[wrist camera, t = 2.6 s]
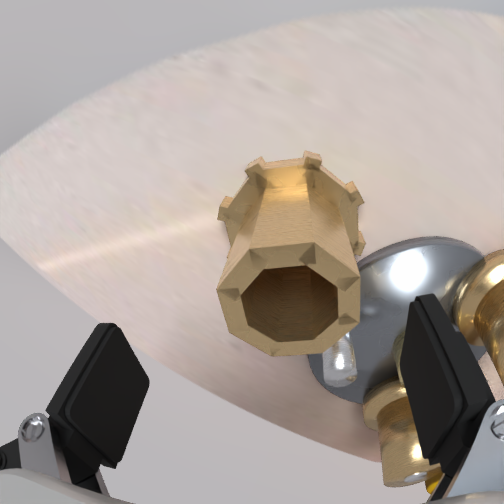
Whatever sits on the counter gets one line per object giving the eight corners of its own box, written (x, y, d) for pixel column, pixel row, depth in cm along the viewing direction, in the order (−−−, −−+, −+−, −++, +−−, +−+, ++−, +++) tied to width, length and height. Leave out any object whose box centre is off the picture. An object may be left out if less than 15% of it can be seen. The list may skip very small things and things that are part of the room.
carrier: (531, 225, 16) (608, 301, 7) (475, 389, 24) (499, 462, 16) (297, 249, 19) (295, 373, 11) (314, 416, 27) (311, 502, 19)
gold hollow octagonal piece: (354, 145, 16) (401, 191, 9) (361, 270, 19) (387, 367, 12) (213, 164, 17) (156, 220, 10) (240, 281, 21) (214, 378, 14)
